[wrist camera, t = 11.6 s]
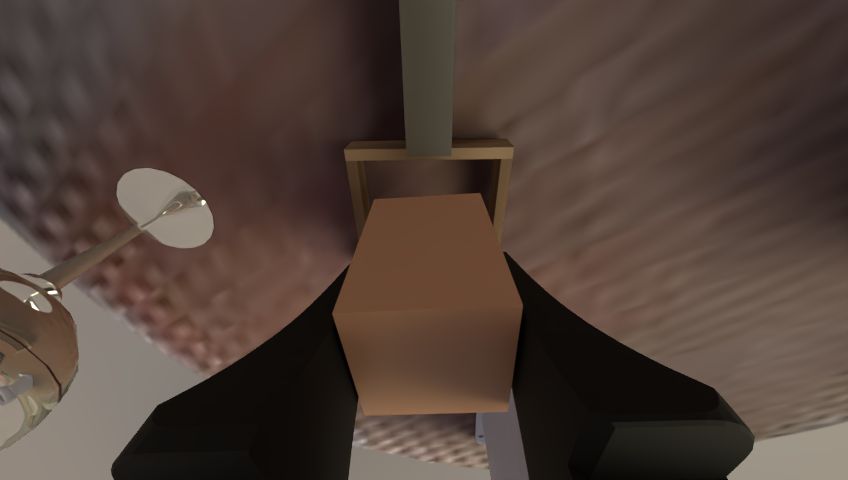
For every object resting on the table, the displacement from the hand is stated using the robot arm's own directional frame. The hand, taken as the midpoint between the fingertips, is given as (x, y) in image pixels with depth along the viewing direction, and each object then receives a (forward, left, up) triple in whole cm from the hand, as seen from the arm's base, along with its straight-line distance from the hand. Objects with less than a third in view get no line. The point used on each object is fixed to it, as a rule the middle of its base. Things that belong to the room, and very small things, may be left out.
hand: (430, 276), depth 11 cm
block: (0, 0, -3) cm, 2 cm away
